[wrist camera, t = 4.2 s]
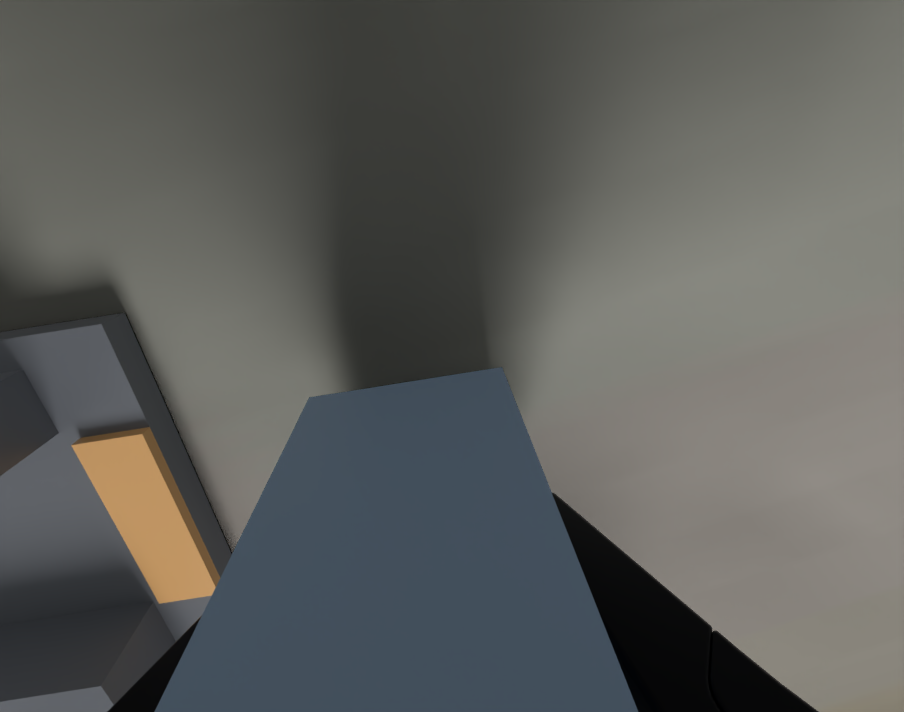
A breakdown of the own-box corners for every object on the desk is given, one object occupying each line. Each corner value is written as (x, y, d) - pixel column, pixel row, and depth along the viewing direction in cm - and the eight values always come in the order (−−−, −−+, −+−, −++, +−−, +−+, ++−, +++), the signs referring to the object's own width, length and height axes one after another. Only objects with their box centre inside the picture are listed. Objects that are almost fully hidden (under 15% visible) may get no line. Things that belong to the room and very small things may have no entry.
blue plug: (519, 518, 11) (718, 1247, 4) (353, 544, 11) (210, 1325, 4) (501, 366, 9) (788, 1093, 2) (309, 397, 9) (-105, 1237, 2)
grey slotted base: (339, 797, 18) (324, 912, 15) (37, 844, 18) (-34, 967, 15) (124, 312, 10) (13, 366, 7) (-405, 396, 10) (-710, 481, 8)
